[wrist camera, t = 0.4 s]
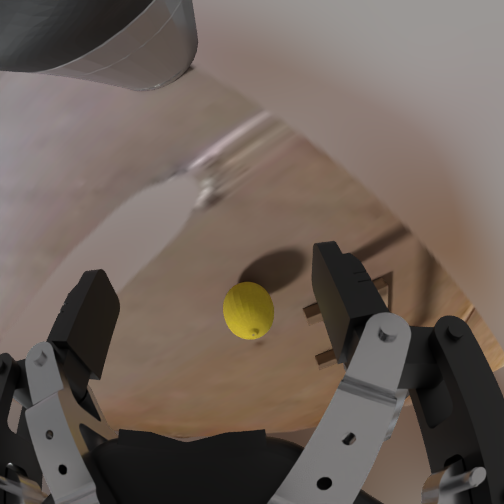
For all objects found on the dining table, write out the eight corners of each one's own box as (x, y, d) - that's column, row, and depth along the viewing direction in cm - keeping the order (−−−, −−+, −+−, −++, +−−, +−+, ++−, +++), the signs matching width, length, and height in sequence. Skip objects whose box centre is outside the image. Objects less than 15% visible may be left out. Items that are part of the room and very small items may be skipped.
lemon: (242, 260, 32) (252, 305, 25) (275, 285, 34) (291, 330, 27) (211, 291, 33) (214, 339, 26) (245, 312, 36) (254, 359, 29)
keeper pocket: (294, 278, 34) (346, 392, 19) (380, 245, 34) (461, 331, 19) (319, 376, 46) (349, 455, 31) (379, 351, 46) (419, 422, 31)
